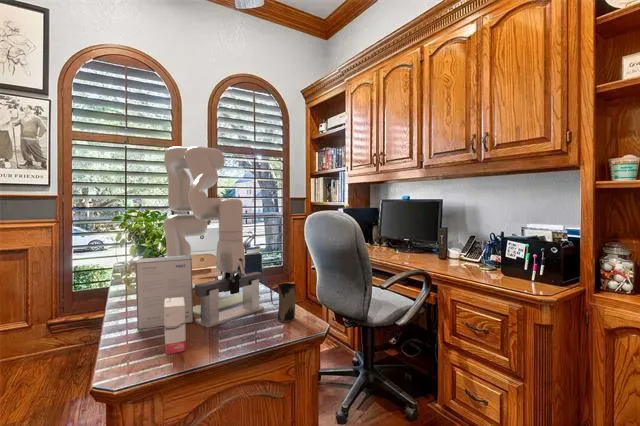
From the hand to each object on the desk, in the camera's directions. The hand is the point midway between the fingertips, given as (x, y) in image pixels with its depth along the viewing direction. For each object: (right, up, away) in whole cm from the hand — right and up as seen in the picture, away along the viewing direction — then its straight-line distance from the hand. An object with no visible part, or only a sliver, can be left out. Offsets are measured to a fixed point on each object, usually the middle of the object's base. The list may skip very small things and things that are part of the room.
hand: (231, 291), depth 107 cm
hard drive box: (-19, -8, -6) cm, 21 cm away
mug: (+17, -8, -4) cm, 20 cm away
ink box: (-8, -9, -23) cm, 26 cm away
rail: (0, +1, 0) cm, 1 cm away
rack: (0, -8, 0) cm, 8 cm away
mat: (-5, -7, +13) cm, 16 cm away
